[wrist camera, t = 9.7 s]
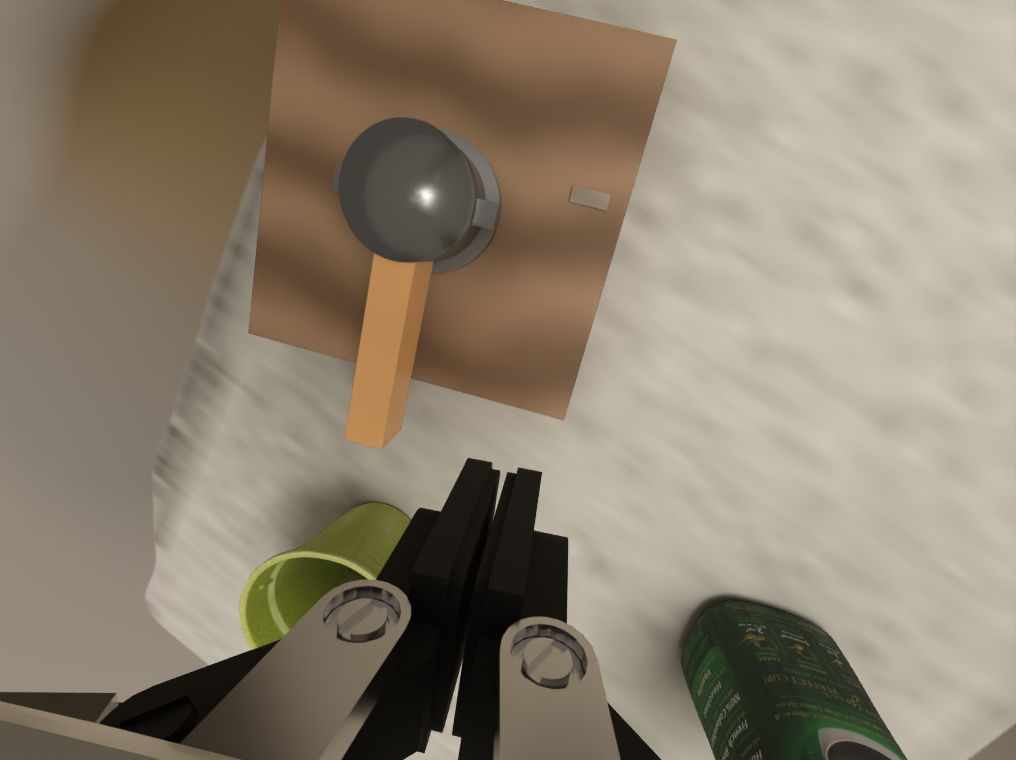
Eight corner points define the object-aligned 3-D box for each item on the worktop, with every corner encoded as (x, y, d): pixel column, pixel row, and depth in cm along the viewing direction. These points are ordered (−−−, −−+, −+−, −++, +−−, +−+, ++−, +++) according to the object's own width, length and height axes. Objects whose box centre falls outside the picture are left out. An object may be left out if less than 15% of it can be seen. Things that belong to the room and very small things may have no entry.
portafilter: (517, 159, 24) (507, 140, 20) (453, 438, 28) (435, 467, 24) (365, 122, 24) (327, 97, 21) (325, 403, 29) (287, 425, 25)
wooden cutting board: (306, -27, 26) (273, -62, 23) (668, 56, 25) (681, 30, 22) (268, 328, 31) (237, 335, 29) (564, 409, 30) (563, 426, 27)
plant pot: (335, 458, 33) (257, 526, 25) (461, 509, 33) (425, 594, 25) (304, 565, 36) (224, 658, 28) (421, 612, 36) (376, 722, 27)
